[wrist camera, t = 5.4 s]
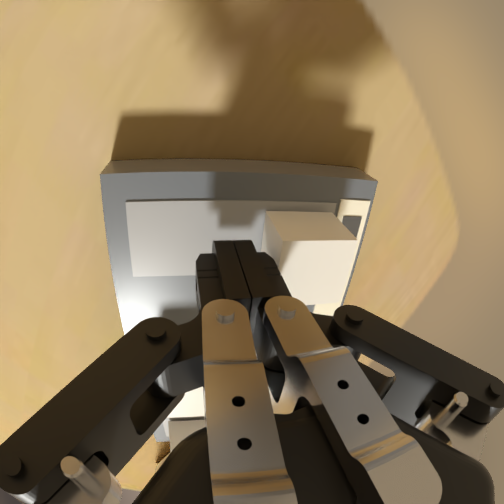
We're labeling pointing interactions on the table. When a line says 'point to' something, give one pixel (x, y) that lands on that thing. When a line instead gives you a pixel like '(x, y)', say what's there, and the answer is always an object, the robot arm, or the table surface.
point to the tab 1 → (182, 430)
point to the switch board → (209, 224)
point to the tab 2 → (310, 253)
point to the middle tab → (190, 405)
